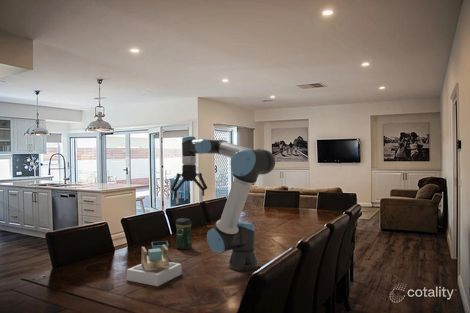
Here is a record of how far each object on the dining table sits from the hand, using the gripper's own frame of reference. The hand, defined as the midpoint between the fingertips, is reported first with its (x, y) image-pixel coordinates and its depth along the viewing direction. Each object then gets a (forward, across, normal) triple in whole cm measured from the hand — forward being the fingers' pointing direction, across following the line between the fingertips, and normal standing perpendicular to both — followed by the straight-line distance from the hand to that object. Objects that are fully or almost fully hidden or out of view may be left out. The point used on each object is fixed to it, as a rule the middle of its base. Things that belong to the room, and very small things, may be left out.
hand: (189, 202), depth 198 cm
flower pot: (+32, +15, -8) cm, 36 cm away
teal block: (+23, +23, +21) cm, 38 cm away
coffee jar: (+32, -3, -27) cm, 42 cm away
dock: (+32, +23, +21) cm, 44 cm away
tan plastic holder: (+26, +23, +21) cm, 41 cm away
